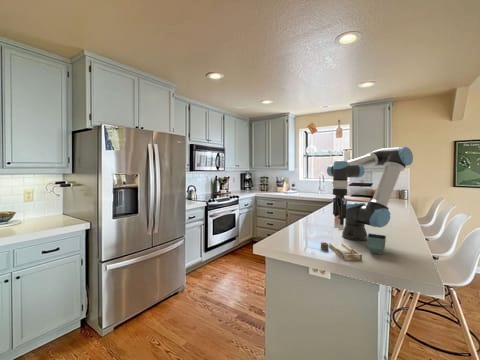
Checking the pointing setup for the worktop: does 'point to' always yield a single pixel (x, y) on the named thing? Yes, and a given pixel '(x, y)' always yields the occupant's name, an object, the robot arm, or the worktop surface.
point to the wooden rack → (349, 255)
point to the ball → (336, 219)
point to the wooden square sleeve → (324, 246)
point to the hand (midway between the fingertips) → (338, 228)
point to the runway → (341, 248)
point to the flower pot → (376, 243)
